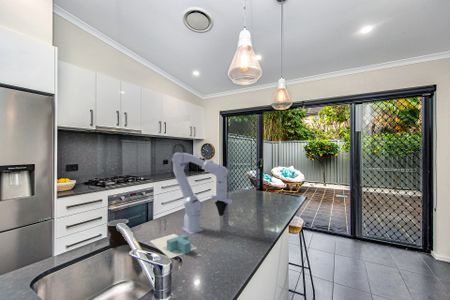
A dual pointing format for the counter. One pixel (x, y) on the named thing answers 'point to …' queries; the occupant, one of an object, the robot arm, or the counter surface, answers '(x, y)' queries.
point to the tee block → (179, 244)
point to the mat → (162, 245)
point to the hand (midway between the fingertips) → (221, 215)
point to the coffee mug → (116, 233)
